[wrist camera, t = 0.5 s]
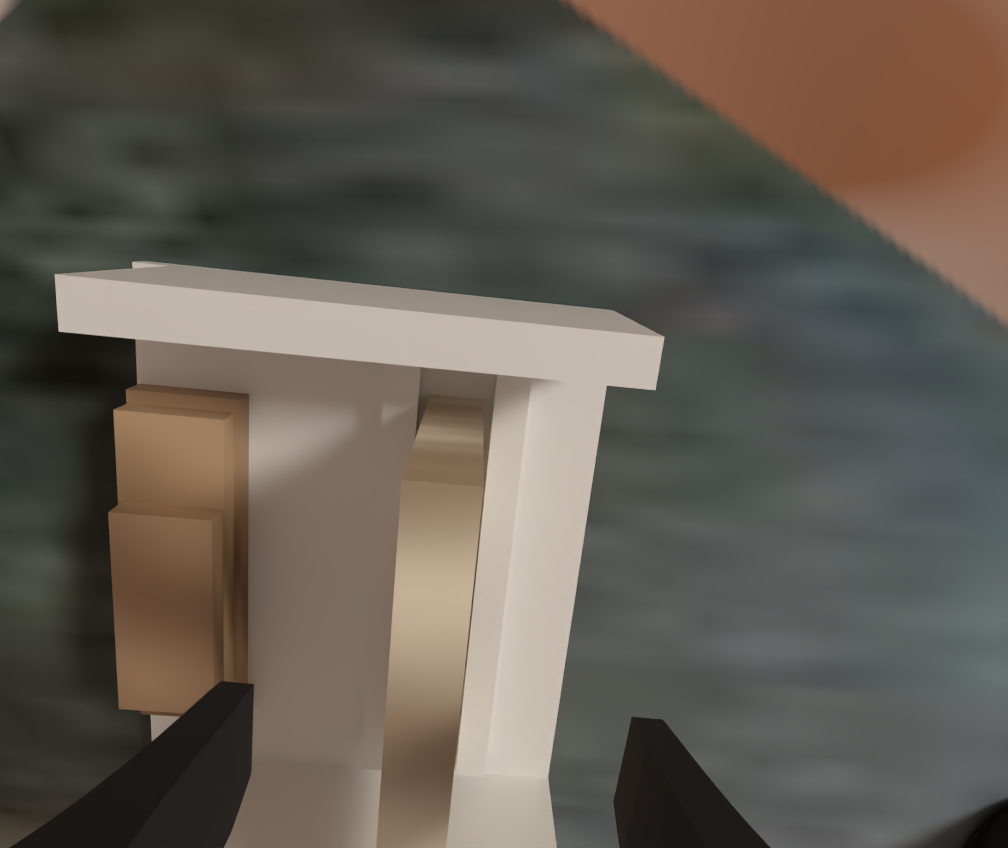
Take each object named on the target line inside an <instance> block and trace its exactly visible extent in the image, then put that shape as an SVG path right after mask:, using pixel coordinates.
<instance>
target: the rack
mask: <svg viewBox="0 0 1008 848" xmlns="http://www.w3.org/2000/svg"><path fill="white" fill-rule="evenodd" d="M132 265H133V268H132V269H119V270H106V271H92V272H79V273H66V274H55V285H56V299H57V314H58V328H59V332H68V333H78V334H89V335H99V336H109V337H119V338H129V339H135V340H136V365H137V385H138V384H150V385H160V386H171V387H181V388H192V389H203V390H213V391H224V392H234V393H245V394H249V507H248V683H249V684H254V704H253V737H252V771H251V776H250V779H249V782H248V785H247V788H246V791H245V794H244V797H243V800H242V803H241V806H240V809H239V812H238V815H237V817H236V820H235V823H234V826H233V829H232V831H231V834H230V836H229V838H228V840H227V842H226V845H225V847H224V848H376V842H377V828H378V813H379V799H380V785H381V770H382V756H383V742H384V727H385V713H386V698H387V684H388V670H389V655H390V641H391V626H392V612H393V598H394V583H395V569H396V554H397V540H398V526H399V511H400V497H401V482H402V477H403V474H404V471H405V468H406V465H407V462H408V459H409V456H410V453H411V451H412V448H413V445H414V442H415V439H416V436H417V433H418V430H419V427H420V424H421V421H422V418H423V415H424V412H425V409H426V406H427V403H428V400H429V397H430V394H435V395H445V396H455V397H466V398H476V399H483V461H484V490H483V499H482V509H481V518H480V528H479V537H478V547H477V557H476V566H475V576H474V585H473V595H472V605H471V614H470V624H469V633H468V643H467V652H466V662H465V672H464V681H463V691H462V700H461V710H460V719H459V729H458V739H457V748H456V758H455V767H454V777H453V787H452V796H451V806H450V815H449V825H448V834H447V844H446V848H557V847H556V839H555V831H554V823H553V815H552V806H551V798H550V790H549V782H548V773H549V767H550V760H551V753H552V747H553V740H554V733H555V727H556V720H557V713H558V707H559V700H560V693H561V687H562V680H563V673H564V667H565V660H566V653H567V647H568V640H569V633H570V627H571V620H572V613H573V607H574V600H575V593H576V587H577V580H578V573H579V567H580V560H581V553H582V546H583V540H584V533H585V526H586V520H587V513H588V506H589V500H590V493H591V486H592V480H593V473H594V466H595V460H596V453H597V446H598V440H599V433H600V426H601V420H602V413H603V406H604V400H605V393H606V386H607V385H609V386H619V387H629V388H639V389H649V390H656V384H657V378H658V372H659V366H660V360H661V354H662V348H663V342H664V337H663V336H661V335H659V334H657V333H655V332H653V331H652V330H650V329H648V328H646V327H644V326H642V325H640V324H638V323H636V322H634V321H632V320H630V319H628V318H626V317H625V316H623V315H621V314H619V313H617V312H615V311H613V310H606V309H597V308H587V307H577V306H568V305H558V304H549V303H539V302H530V301H520V300H511V299H501V298H492V297H482V296H473V295H463V294H454V293H444V292H435V291H425V290H416V289H406V288H397V287H387V286H378V285H368V284H359V283H349V282H340V281H330V280H320V279H311V278H301V277H292V276H282V275H273V274H263V273H254V272H244V271H235V270H225V269H216V268H206V267H197V266H187V265H178V264H168V263H159V262H149V261H141V262H132ZM178 718H179V717H177V716H161V715H151V737H152V741H153V740H154V739H155V738H156V737H158V736H159V735H160V734H161V733H162V732H164V731H165V730H166V729H167V728H168V727H169V726H170V725H171V724H173V723H174V722H175V721H176V720H177V719H178Z"/></svg>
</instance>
